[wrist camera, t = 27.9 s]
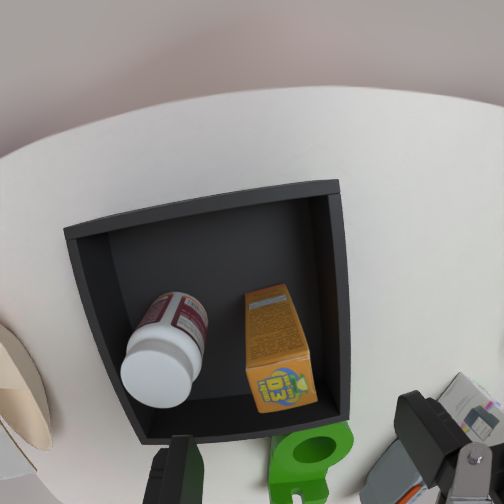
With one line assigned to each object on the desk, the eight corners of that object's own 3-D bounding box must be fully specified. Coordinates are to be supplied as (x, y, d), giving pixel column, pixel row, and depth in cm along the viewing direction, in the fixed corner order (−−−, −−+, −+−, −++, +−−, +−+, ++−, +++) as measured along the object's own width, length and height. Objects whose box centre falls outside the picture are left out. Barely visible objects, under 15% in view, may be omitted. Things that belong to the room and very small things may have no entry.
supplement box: (239, 292, 23) (242, 367, 13) (284, 281, 23) (317, 348, 13) (250, 331, 24) (259, 417, 14) (293, 320, 23) (326, 401, 14)
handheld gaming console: (368, 488, 31) (385, 528, 23) (351, 489, 31) (367, 531, 23) (425, 417, 28) (456, 458, 20) (409, 417, 28) (439, 461, 20)
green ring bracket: (270, 393, 26) (276, 427, 21) (345, 387, 26) (361, 417, 22) (264, 482, 29) (268, 511, 24) (322, 476, 29) (330, 503, 25)
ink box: (485, 388, 28) (547, 449, 14) (462, 416, 29) (517, 482, 15) (460, 369, 27) (535, 442, 13) (433, 402, 28) (497, 483, 13)
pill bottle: (150, 342, 23) (119, 406, 15) (148, 287, 22) (108, 338, 14) (208, 348, 24) (197, 418, 15) (210, 293, 23) (198, 350, 14)
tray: (99, 217, 22) (62, 228, 16) (313, 180, 22) (338, 179, 16) (154, 403, 26) (141, 444, 20) (330, 379, 26) (349, 419, 20)
